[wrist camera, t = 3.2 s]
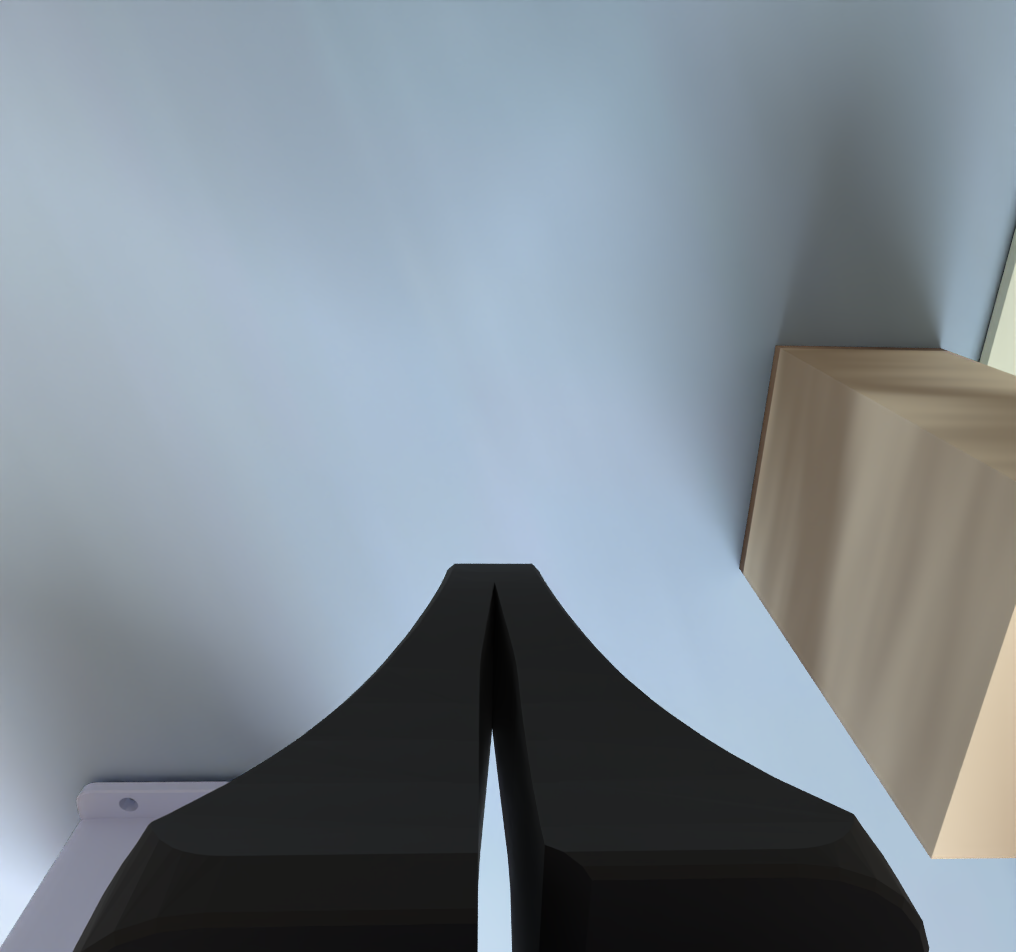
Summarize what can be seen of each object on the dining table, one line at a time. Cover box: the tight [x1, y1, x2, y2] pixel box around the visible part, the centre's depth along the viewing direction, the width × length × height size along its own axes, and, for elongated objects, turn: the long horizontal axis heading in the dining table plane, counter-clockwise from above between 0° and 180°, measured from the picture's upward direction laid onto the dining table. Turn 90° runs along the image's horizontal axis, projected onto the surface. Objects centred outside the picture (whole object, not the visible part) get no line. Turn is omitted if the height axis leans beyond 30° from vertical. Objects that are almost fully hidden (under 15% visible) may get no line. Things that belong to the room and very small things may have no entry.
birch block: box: [739, 345, 1016, 859], centre depth 14 cm, size 4×6×9 cm, turn 179°
